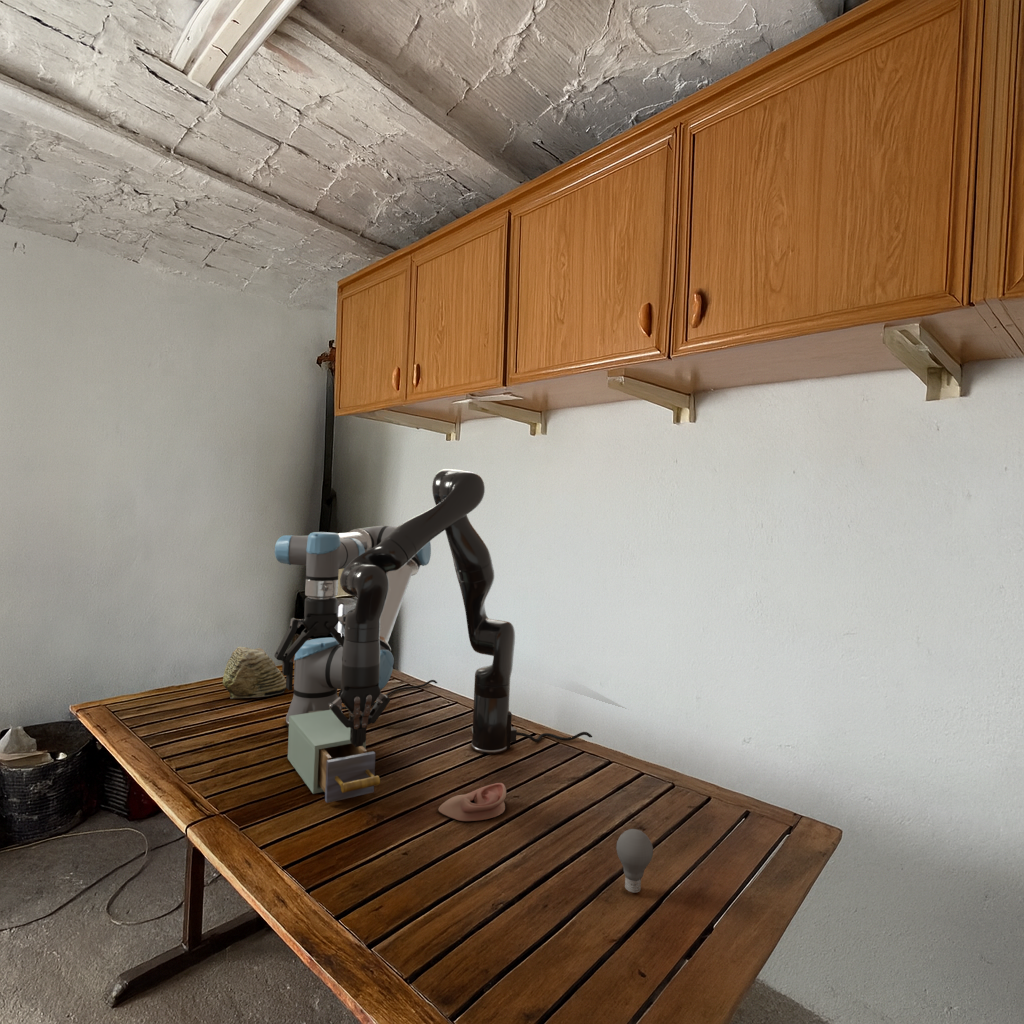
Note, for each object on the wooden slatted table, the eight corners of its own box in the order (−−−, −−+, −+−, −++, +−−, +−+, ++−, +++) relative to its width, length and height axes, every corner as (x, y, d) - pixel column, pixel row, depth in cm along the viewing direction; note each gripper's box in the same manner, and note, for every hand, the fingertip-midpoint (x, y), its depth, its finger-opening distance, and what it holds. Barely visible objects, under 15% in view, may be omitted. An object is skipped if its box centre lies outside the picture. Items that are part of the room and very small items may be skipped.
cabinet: (364, 782, 141) (366, 736, 141) (313, 794, 135) (314, 745, 135) (334, 749, 158) (335, 708, 158) (287, 758, 152) (289, 715, 152)
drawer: (384, 804, 130) (386, 763, 130) (336, 816, 124) (337, 773, 124) (343, 758, 151) (344, 723, 151) (300, 767, 145) (301, 730, 145)
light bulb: (610, 879, 108) (613, 822, 108) (644, 879, 109) (647, 822, 109) (619, 902, 102) (622, 840, 102) (655, 901, 103) (658, 840, 103)
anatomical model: (434, 797, 127) (451, 773, 138) (433, 817, 127) (450, 791, 138) (498, 806, 124) (510, 781, 135) (497, 826, 124) (509, 800, 136)
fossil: (218, 695, 195) (220, 647, 195) (278, 685, 208) (279, 640, 207) (228, 703, 189) (230, 653, 188) (289, 692, 201) (290, 645, 201)
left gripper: (271, 602, 142) (267, 696, 142) (376, 596, 156) (373, 682, 156) (263, 597, 148) (259, 687, 148) (365, 592, 162) (362, 674, 162)
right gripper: (335, 669, 122) (331, 758, 122) (398, 661, 129) (395, 745, 130) (323, 659, 128) (319, 744, 129) (384, 653, 136) (381, 733, 136)
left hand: (318, 685), depth 152 cm, fingers open, 13 cm apart
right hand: (357, 745), depth 129 cm, fingers closed
